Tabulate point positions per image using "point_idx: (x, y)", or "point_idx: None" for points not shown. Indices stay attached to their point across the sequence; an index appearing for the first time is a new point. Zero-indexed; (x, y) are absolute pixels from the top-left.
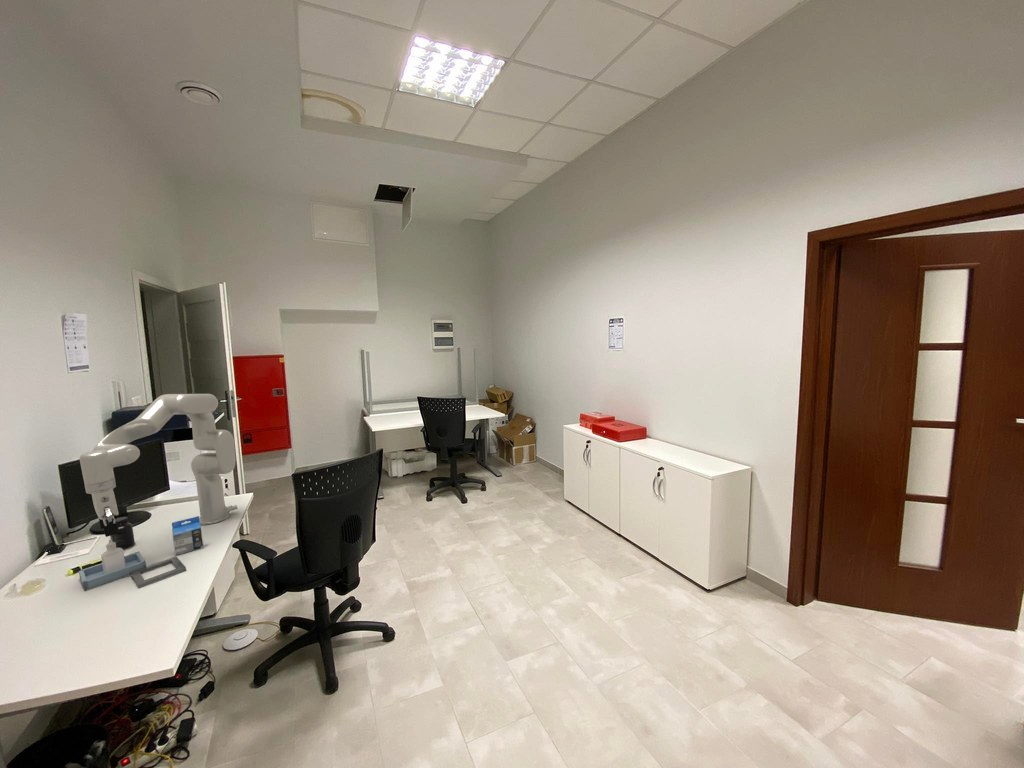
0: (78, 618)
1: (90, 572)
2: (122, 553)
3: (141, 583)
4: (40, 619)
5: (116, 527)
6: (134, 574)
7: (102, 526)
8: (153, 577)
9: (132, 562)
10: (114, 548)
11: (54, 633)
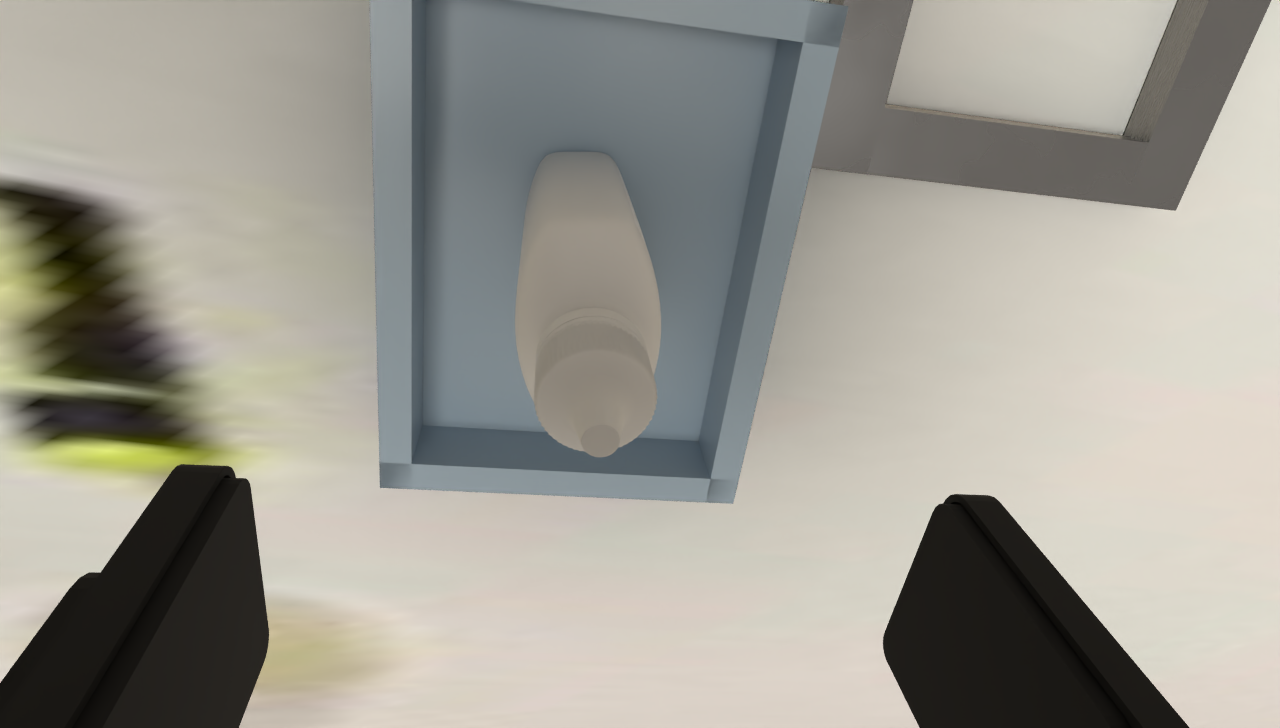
0: (1111, 533)
1: (419, 394)
2: (635, 218)
3: (1183, 183)
4: (874, 647)
5: (1077, 613)
6: (910, 158)
7: (248, 674)
8: (1195, 69)
9: (490, 52)
10: (641, 338)
11: (1135, 619)
